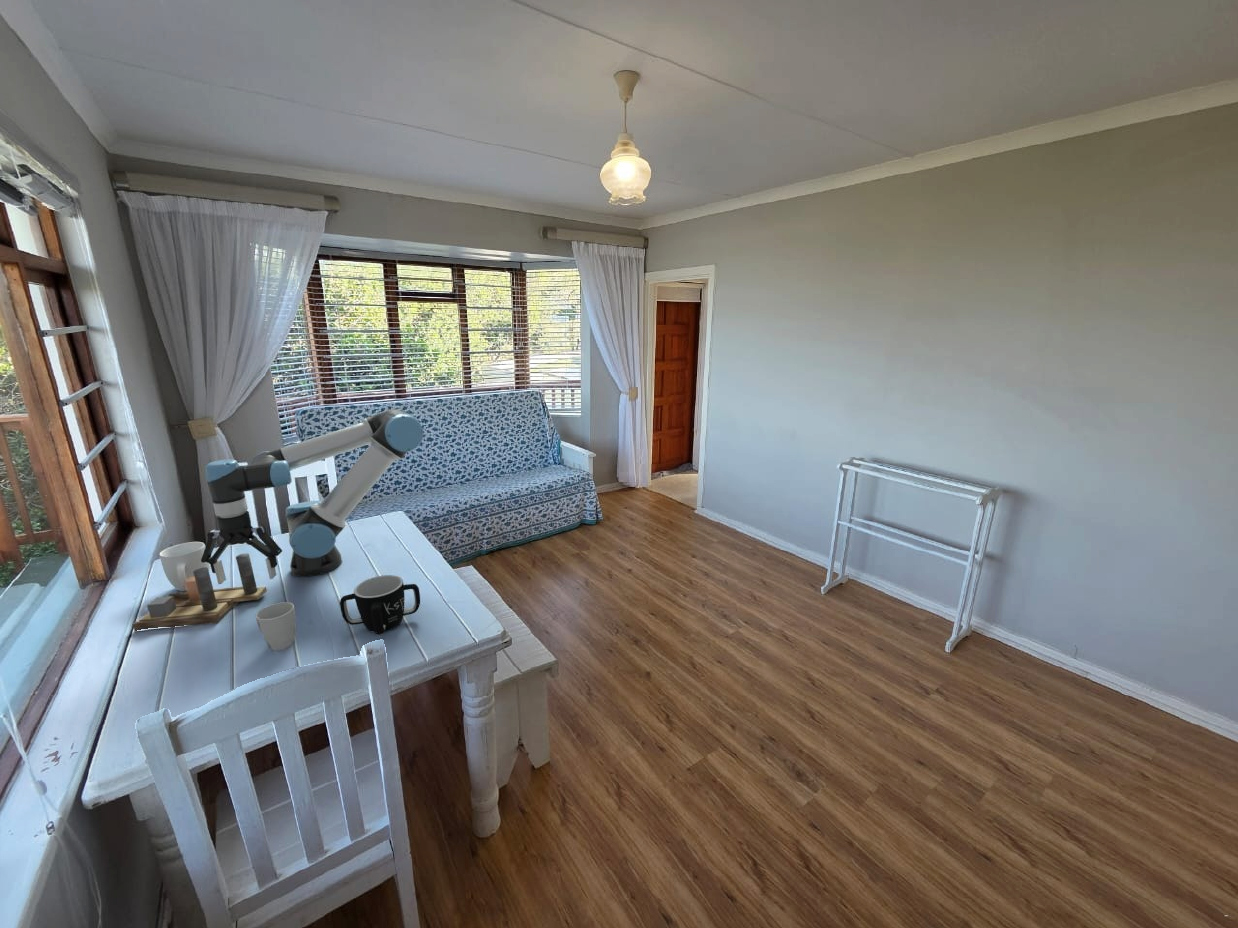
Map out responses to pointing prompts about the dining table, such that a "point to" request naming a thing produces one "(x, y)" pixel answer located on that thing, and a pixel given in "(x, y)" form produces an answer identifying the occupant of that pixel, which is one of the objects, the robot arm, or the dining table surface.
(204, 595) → the strip
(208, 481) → the robot arm
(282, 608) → the cup
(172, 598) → the rubber block
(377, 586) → the mug
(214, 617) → the lane board
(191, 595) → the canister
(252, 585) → the strip
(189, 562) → the mug
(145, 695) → the dining table surface
